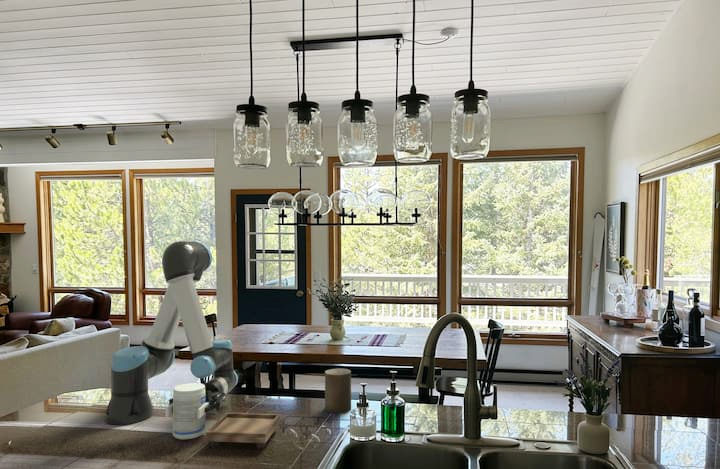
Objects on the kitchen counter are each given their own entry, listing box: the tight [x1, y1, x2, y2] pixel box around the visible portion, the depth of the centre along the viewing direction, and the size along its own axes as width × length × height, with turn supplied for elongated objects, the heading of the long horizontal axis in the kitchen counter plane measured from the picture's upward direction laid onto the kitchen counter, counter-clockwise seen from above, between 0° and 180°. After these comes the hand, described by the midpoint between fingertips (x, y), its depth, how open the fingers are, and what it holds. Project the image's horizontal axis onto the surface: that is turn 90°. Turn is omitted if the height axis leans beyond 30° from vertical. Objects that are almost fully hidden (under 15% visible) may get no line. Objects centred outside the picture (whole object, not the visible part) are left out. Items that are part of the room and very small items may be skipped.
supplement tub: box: [172, 382, 206, 440], centre depth 142 cm, size 10×10×15 cm
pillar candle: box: [324, 368, 352, 414], centre depth 167 cm, size 10×10×15 cm
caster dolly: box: [205, 412, 281, 450], centre depth 140 cm, size 18×16×5 cm
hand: (182, 413), depth 138 cm, fingers closed on supplement tub, 9 cm apart
